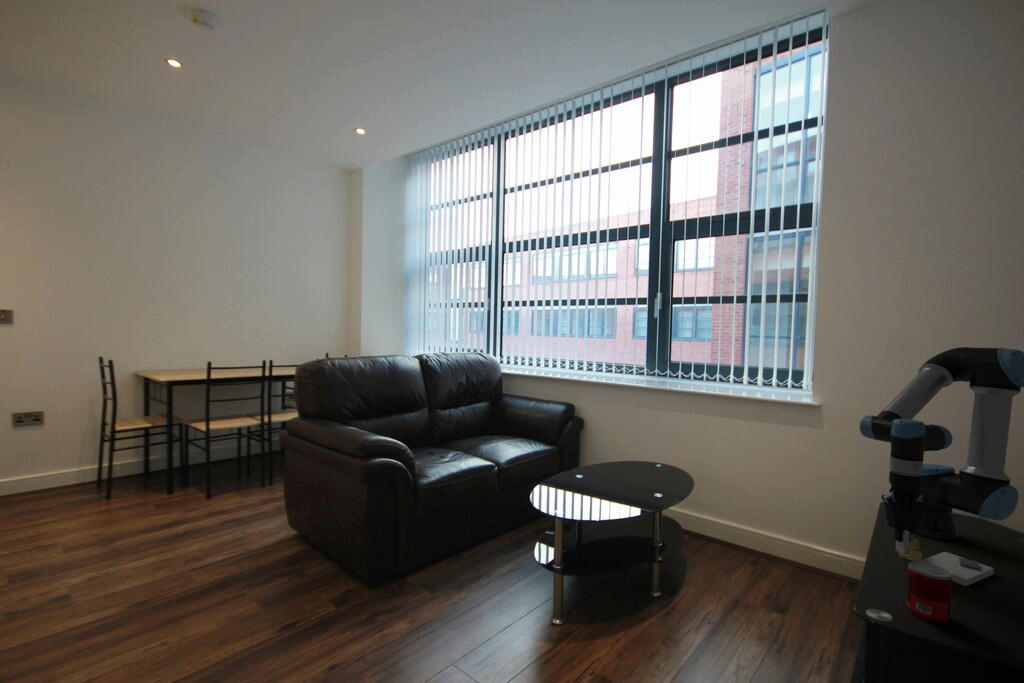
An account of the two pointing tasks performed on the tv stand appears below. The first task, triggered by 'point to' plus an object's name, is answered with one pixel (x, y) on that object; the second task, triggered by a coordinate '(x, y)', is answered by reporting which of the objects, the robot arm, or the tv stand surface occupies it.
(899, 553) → the jamb plate
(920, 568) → the canned food
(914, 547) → the latch bar
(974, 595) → the tv stand surface
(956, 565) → the white flat block
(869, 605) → the tv stand surface
